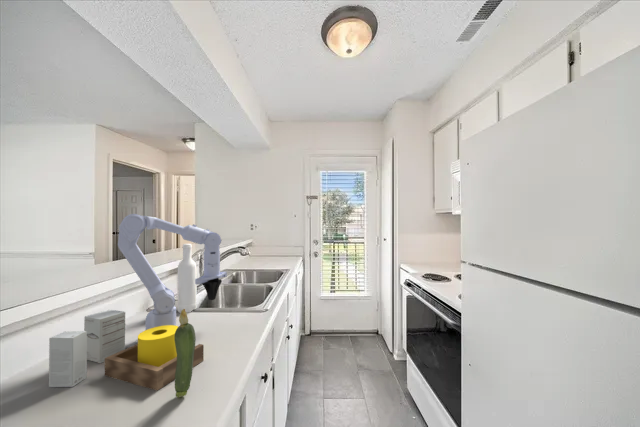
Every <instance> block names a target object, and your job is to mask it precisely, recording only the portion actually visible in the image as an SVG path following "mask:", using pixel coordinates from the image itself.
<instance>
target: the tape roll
mask: <svg viewBox="0 0 640 427" xmlns="http://www.w3.org/2000/svg"><path fill="white" fill-rule="evenodd" d="M178 327H179V326H178V325H176V326H175V325H164V326H158V327H154V328H150V329H147V330H145V329H144V330H142V331H141V332H139V334H138V335H137V344H138V362H140V363H144V364H148V365H152V366H156V367H160V366H161V365H163V364H165V363H167V362H168V361H170V360H172V359H174V358H175V357H177V353H176V346H175V332H176V329H177V328H178Z"/></svg>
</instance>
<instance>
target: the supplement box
mask: <svg viewBox="0 0 640 427" xmlns="http://www.w3.org/2000/svg"><path fill="white" fill-rule="evenodd" d="M83 320H84V323H83V324H84V330H83V331H87V361H91V362H95V363H98V364H101V363H105V358H106V357H109V356H111V355H113V354H115V353H118V352H120V351H122V350H124V349H126V311H123V310H115V309H105V310H103V311H99V312H94V313H93V314H89V315H85V316H84V318H83Z"/></svg>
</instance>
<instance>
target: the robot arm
mask: <svg viewBox="0 0 640 427" xmlns="http://www.w3.org/2000/svg"><path fill="white" fill-rule="evenodd" d="M118 229H119V230H118V241H117V247H118V250H119V251H120V252H121V253H122V255H123V257H125V259H126V260H127V262H128V264H129V265H130V266H131V268H132V269H133V271H134V273H135V274H136V275H137V277H138V279H139V280H140V281H141V282H142V284H143V285H144V287H145V288H146V290H147V292H148V294H149V296H150V298H151V299H152V301H153V309H152V310H150V311H149V312H148V313H147V315H146V317H145V323H144V324H145V327H144V328H145V329H144V331H145V330H147V329H150V328H154V327H158V326H164V325H175V326H177V307H176V306H175V305H176V299H175V293H174V291H173V290H171V289H170V288H168V287H167V286H166V285H165V284H164V283H163V281H162V280H161V278H160V277H159V276H158V274H157V272H156V270H155V269H154V268H153V267H152V265H151V264H150V262H149V260H148V259H147V257H146V256H145V255H144V253H143V252H142V249H141V248H140V247H139V245H138V244H137V243H138V242H139V238H140V236H141V234H142V233H143V232H144V231H145V230H147V231H149V230H155V229H158V230H162V231H166V232H169V233H174V234H177V235H180V236H181V237H182V239H183V240H184V241H187V242H191V243H195V244H198V245H204V247H203V248H204V252H203V275H200V277H197V279H195V284H197V285H202V286H203V287H204V289H205V291H206V295H207V298H208V300H209V301H215V300H216V297H217V293H218V290H219V287H221V284H222V281H223V280H222V279H221V278H227V276H228V272H227V271H221V270H220V269H221V252H220V251H221V250H220V248H221V247H220V245H221V243H222V238H221V235H220V234H219V233H217V232H214V231H211V230H210V228H209V229H208V228H206V229H204V228H201V227H199V226H197V224H192V225H191V224H188V225H185V226H182V225H179V224H176V223H174V222H170V221H169V220H168V221H167V220H164V219H161V218H159V217H155V216H150V215H149V216H148V215H142V214H138V213H130V214H128V215H126V216H125V217H124V218H122V221H121V222H120V224H119V225H118Z"/></svg>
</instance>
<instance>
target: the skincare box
mask: <svg viewBox="0 0 640 427" xmlns="http://www.w3.org/2000/svg"><path fill="white" fill-rule="evenodd" d="M48 341H49V345H48V346H49V348H48V349H49V350H48V352H49V353H48V354H49V355H48V357H49V358H48V360H49V361H48V373H49V374H48V388H72V387H74V386H77V385H78V384H79V383H81V382H82V381H84V380H85V379H86V378H87V377H88V375H87V373H88V371H87V370H88V368H87V367H88V364H87V363H88V360H87V331H84V330H80V331H71V330H70V331H63V332H60V333H58V334H55V335H53V336H50V337H49V340H48Z"/></svg>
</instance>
